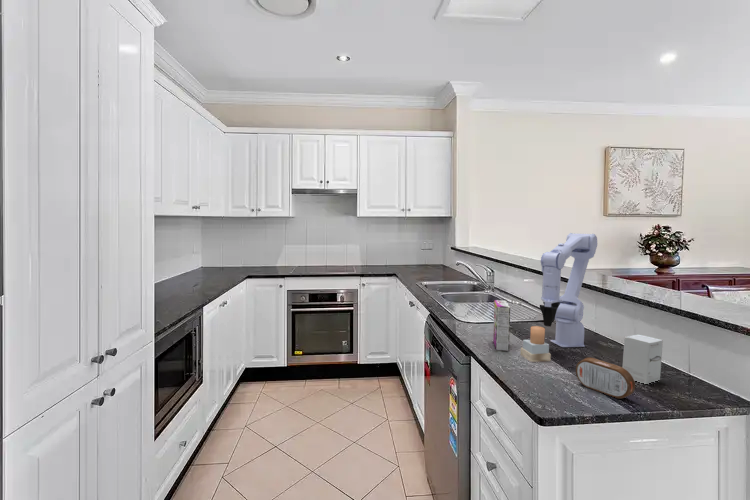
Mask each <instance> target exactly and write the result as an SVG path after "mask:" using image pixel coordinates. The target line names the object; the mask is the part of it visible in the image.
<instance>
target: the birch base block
mask: <svg viewBox="0 0 750 500" xmlns="http://www.w3.org/2000/svg"><path fill="white" fill-rule="evenodd" d="M519 355H520V356H521V357H522V358H525V360H528V361H529V362H531V363H535V362H536V363H540V362H551V358H552V355H551V353H550V352H549V353H545V354H531V353H530V352H528V351H526V350H525V349H523V347H520V354H519Z"/></svg>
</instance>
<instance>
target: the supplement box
mask: <svg viewBox="0 0 750 500" xmlns="http://www.w3.org/2000/svg"><path fill="white" fill-rule="evenodd" d="M623 339H624V340H623V341H624V342H623V354H622V366H621V367H622V368H624V369H626V370H627V371H628V372H629V373H630V374H631V375H632V377H633V379H634V382H635V381H637V382H636V383H638V382H640V383H639V384H641V383H644V384H648V385H650V384H649V383H651V382H654V383H656V382H655V381H658V380H661V371H662V369H661V368H662V358H663V357H662V356H663V347H664V346H663V343H664V341H663V340H664V339H660V338H656V337H652V336H648V335H643V334H638V333H637V334H633V335H628V336H624V338H623ZM658 382H659V381H658ZM651 384H652V383H651Z"/></svg>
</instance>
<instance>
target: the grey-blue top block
mask: <svg viewBox="0 0 750 500" xmlns="http://www.w3.org/2000/svg"><path fill="white" fill-rule="evenodd" d="M522 348H523V349H525V350H526V351H528V352H530V353H531V354H545V353H550V344H549V343H547V342H545V341H544V344H533V343H531V342H530V339H523V340H522Z"/></svg>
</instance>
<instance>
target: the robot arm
mask: <svg viewBox="0 0 750 500" xmlns="http://www.w3.org/2000/svg"><path fill="white" fill-rule="evenodd" d="M565 240H566V241H565V242H564V243H562V242H560V243H558V244H557V245H556V246H555V247H554V248H553V249H552V250H550V251H546V252H544V253H542V255H541V257H540V266H541V273H542V289H541V291H542V292H541V297H540V300H541V301H542V303H543V304H539V309H540V312H541V316H542V319H543V325H544V326H545V327H552V325H553V323H554V322H556V323H555V339H550V342H551V343H553V344H556V346H559V347H561V348H582V347H583V348H585V347H586V345H585V343H584V342H585V326H584V324H583V323H582V322H581V321H582V320H583V318H584V309H585V306H584V303H583V301H582V300H580V299H579V297H580V292H581V289H582V286H583V282H584V279H585V275H586V272H587V268H588V264H589V262H590V259H592V258H594V257H595V254H596V251H597V248H598V237H597V234H595V233H573V232H570V233H568V234H567V235H566V238H565ZM570 257H572V258H573V259H574V260H573V263H572V268H571V270H570V272H569V273H570V274H569V277H568V280H567V283H566V287H565V290H564V293H563V294H562V295H561V296H560V293H561V280H562V279H561V277H562V275H561V274H562V269H564V267H565V263H566V261H567V260H568V259H569V258H570Z"/></svg>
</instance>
